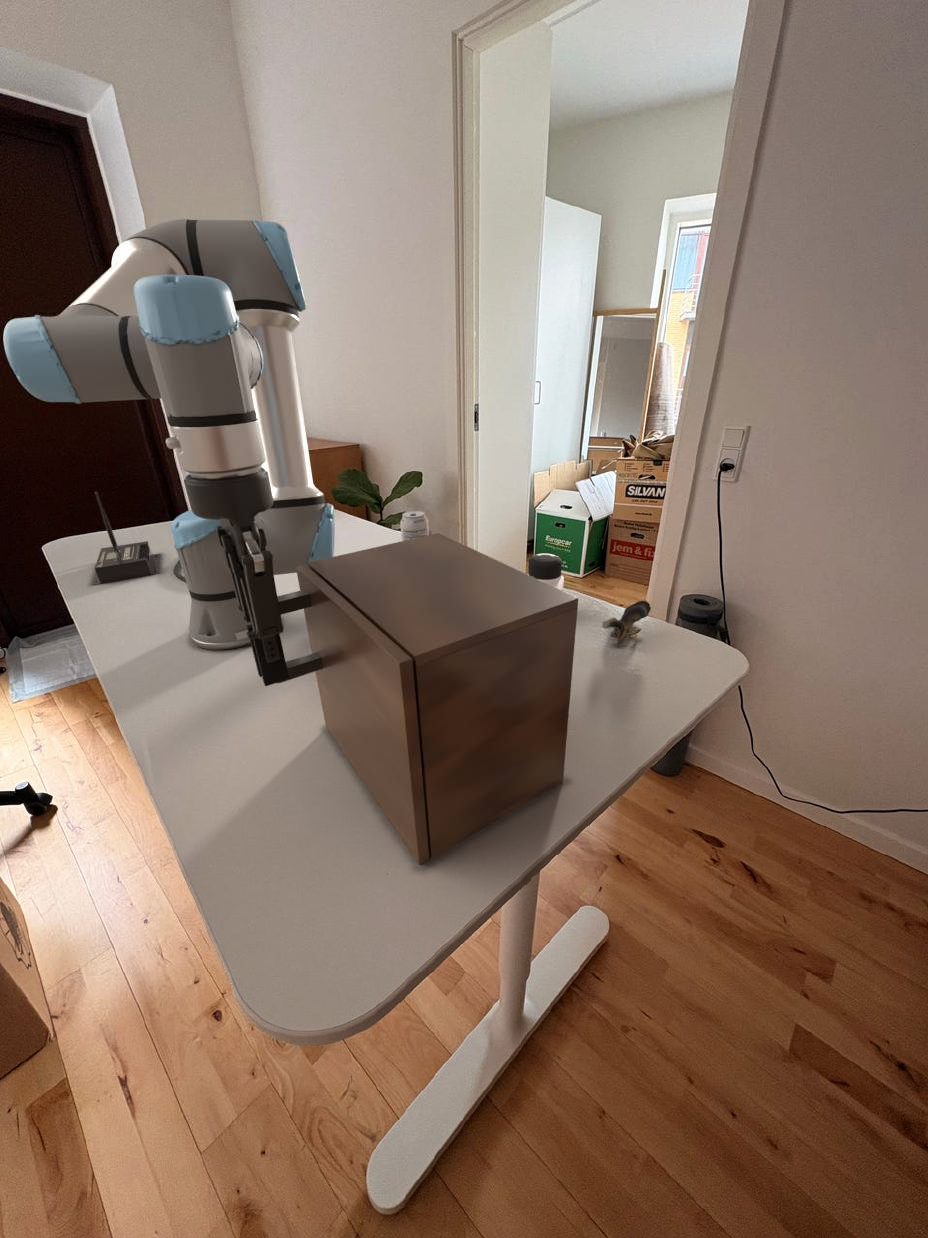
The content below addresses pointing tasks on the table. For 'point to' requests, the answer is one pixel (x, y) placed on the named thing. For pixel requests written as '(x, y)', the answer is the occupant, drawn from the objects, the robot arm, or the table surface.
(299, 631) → the table surface
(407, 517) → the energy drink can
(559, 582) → the medicine bottle
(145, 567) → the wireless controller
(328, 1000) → the table surface
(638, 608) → the grey-brown animal figure
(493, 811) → the cupboard
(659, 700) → the table surface
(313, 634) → the cupboard door
